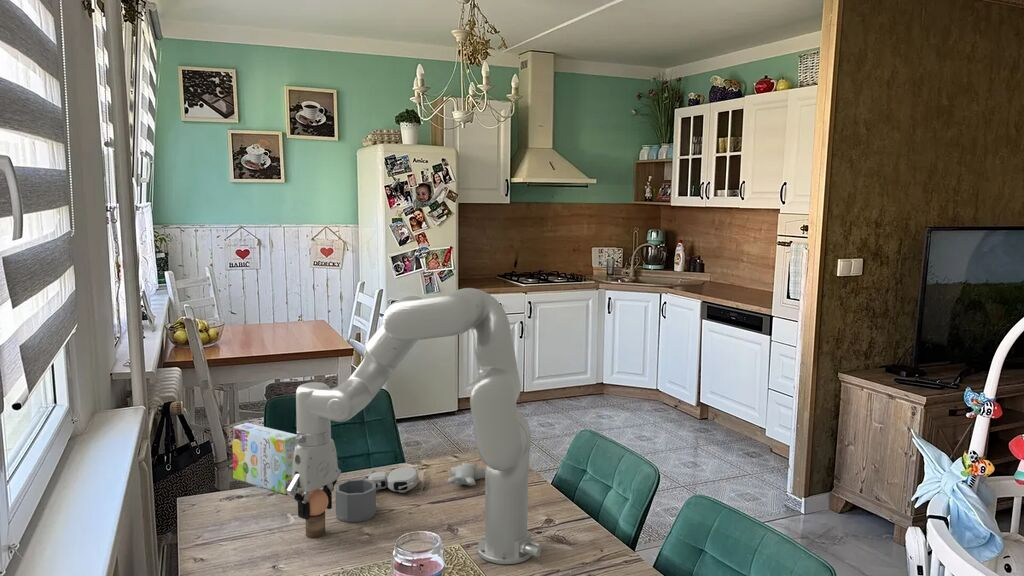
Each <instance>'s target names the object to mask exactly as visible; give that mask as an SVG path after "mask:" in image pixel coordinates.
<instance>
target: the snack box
mask: <svg viewBox="0 0 1024 576" xmlns="http://www.w3.org/2000/svg"><path fill="white" fill-rule="evenodd" d="M231 428H232V429H231V430H232V432H231V434H232V436H231V437H232V474H233V475H232V477H233V478H232V479H234V480H238V481H240V482H244V483H248V484H251V485H253V486H257V487H260V488H263V489H266V490H269V491H270V490H271V491H272V492H276V493H280V494H282V495H288V494H287V493H286V490H287V488H288V487H289V485H290V483H291V482H292V469H293V457H294V451H295V446H296V445H297V444H295V443H294V439H295V438H297V433H296V434H295V433H291V432H287V431H284V430H279V429H275V428H271V427H267V426H263V425H259V424H254V423H250V422H245V423H240V424H238V425H235V426H232V427H231ZM297 489H298V488H296V491H297Z"/></svg>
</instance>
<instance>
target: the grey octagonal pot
mask: <svg viewBox="0 0 1024 576" xmlns="http://www.w3.org/2000/svg"><path fill="white" fill-rule="evenodd" d="M376 514H377V490H376V483H375V482H373V481H369V480H366V479H364V478H357V479H346V480H345V481H342V482H340V483H338V484H335V517H336V519H337V520H339V521H341V522H344V523H361V522H366V521H368V520H371V519H373V518H374V517H375V516H376Z"/></svg>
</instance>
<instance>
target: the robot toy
mask: <svg viewBox="0 0 1024 576" xmlns="http://www.w3.org/2000/svg"><path fill="white" fill-rule="evenodd" d="M419 467H420V466H419V465H417V466H416V465H415V466H414V467H412V466H410V467H409V466H407V467H397V468H395V469H393V470H392V471H390V473H388V472H386V471H371V472H367V474H366V476H365V477H364V478H363V479H366V480H369V481H373V482H375V483H376V491H380V490H383V489H386V488H388V489H389V490H390V491H393V492H398V493H401V494H404V493H407V492H408V491H411V490H412V489H414V488H415V487H416V486H417V484H418V483H419V481H420V480H419V471H418V470H417V469H418V468H419Z"/></svg>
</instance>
